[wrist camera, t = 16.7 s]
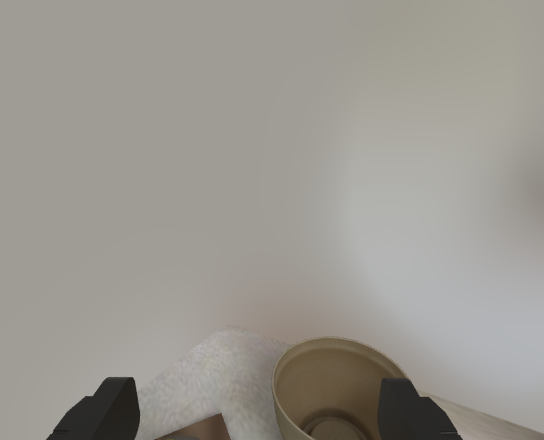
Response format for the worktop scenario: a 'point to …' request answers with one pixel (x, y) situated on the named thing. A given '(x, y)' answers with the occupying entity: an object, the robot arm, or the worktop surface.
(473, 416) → the worktop surface
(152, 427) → the worktop surface
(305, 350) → the planter bowl
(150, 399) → the worktop surface
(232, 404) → the worktop surface
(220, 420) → the stand
